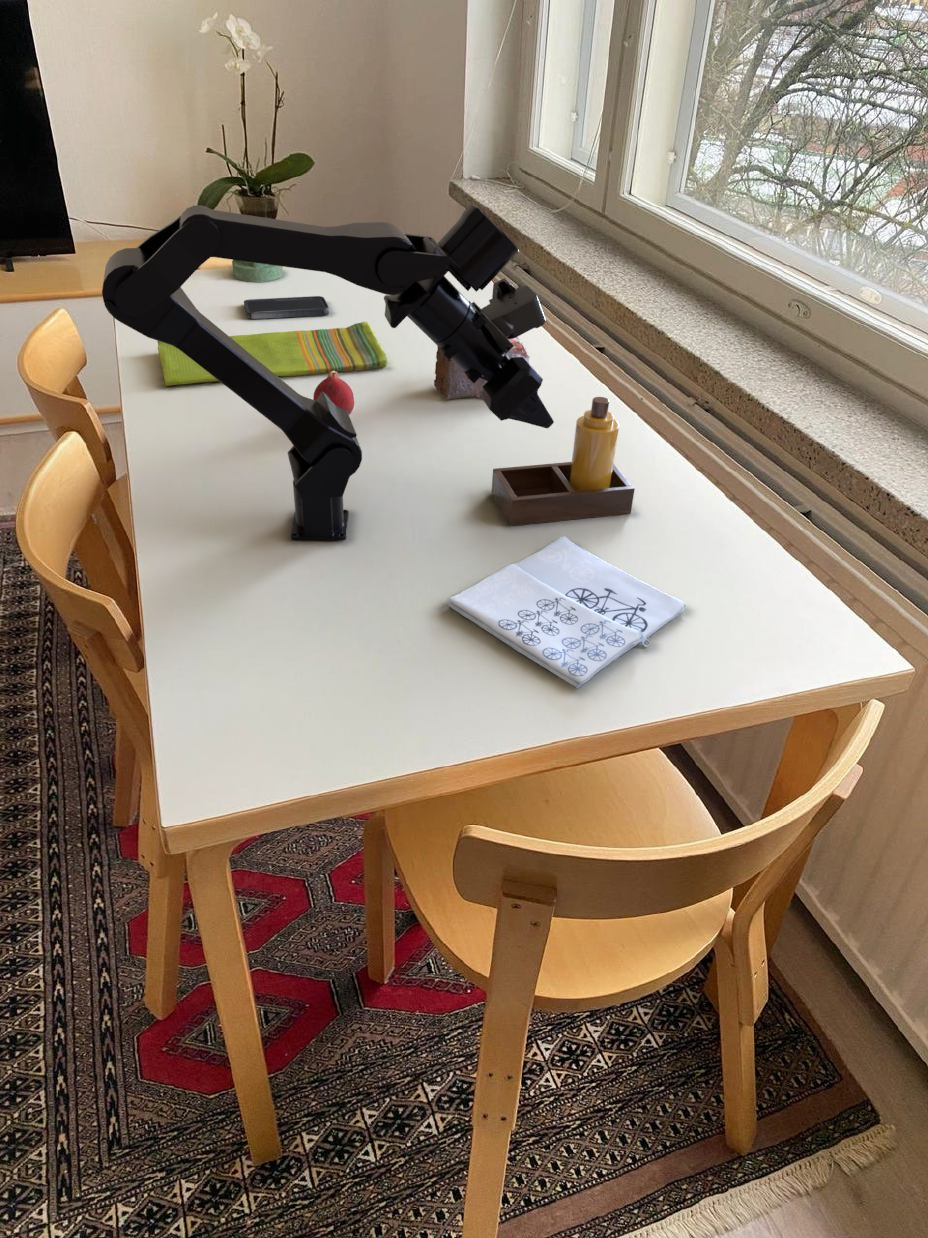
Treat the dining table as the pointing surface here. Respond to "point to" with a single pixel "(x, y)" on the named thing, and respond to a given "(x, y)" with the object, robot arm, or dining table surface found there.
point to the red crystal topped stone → (456, 382)
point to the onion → (336, 391)
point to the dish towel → (288, 353)
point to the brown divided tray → (556, 495)
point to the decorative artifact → (256, 271)
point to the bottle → (594, 448)
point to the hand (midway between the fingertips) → (537, 408)
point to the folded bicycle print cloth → (567, 610)
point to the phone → (286, 307)
